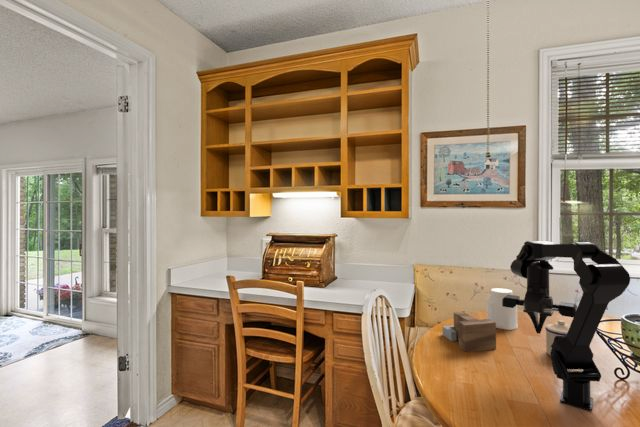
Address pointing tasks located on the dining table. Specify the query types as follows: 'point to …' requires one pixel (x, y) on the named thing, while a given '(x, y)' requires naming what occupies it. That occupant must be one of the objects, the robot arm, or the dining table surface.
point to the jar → (501, 310)
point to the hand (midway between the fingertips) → (538, 333)
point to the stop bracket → (449, 332)
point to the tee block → (474, 332)
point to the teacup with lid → (555, 333)
